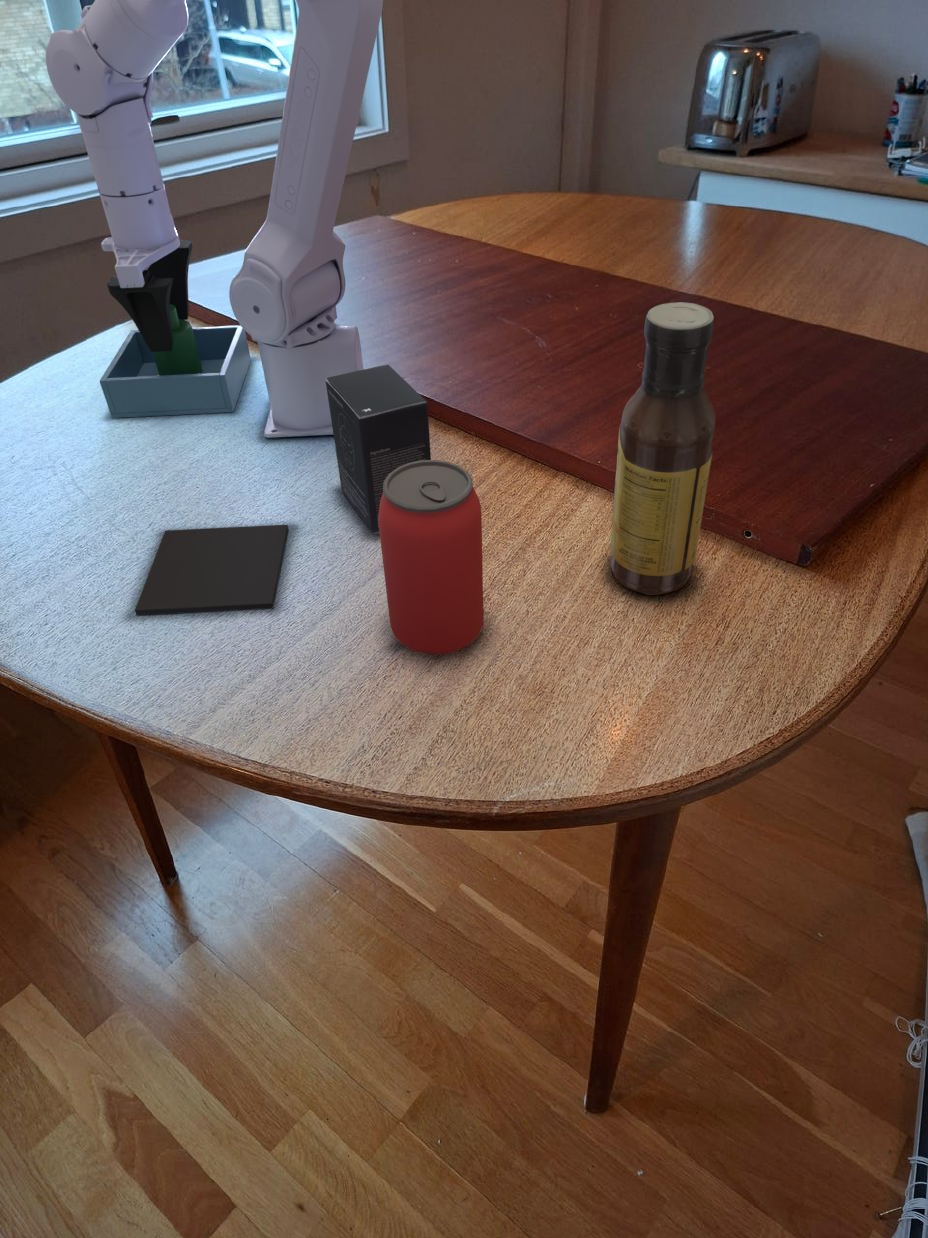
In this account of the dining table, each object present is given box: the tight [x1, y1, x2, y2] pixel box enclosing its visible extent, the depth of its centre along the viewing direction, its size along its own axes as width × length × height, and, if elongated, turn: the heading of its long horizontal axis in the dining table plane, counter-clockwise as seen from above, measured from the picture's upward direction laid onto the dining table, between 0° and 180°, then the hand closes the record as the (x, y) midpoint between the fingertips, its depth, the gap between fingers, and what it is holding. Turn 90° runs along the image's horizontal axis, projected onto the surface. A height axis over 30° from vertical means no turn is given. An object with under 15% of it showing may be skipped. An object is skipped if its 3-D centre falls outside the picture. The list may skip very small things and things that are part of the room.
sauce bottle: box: [609, 301, 717, 596], centre depth 57 cm, size 6×6×20 cm
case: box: [99, 324, 252, 419], centre depth 88 cm, size 12×12×4 cm
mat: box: [134, 524, 289, 616], centre depth 65 cm, size 10×10×1 cm
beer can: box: [378, 459, 485, 656], centre depth 56 cm, size 7×7×12 cm
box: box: [325, 363, 432, 535], centre depth 68 cm, size 8×6×11 cm
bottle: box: [153, 304, 203, 376], centre depth 86 cm, size 4×4×8 cm
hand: (170, 333), depth 86 cm, fingers open, 7 cm apart
